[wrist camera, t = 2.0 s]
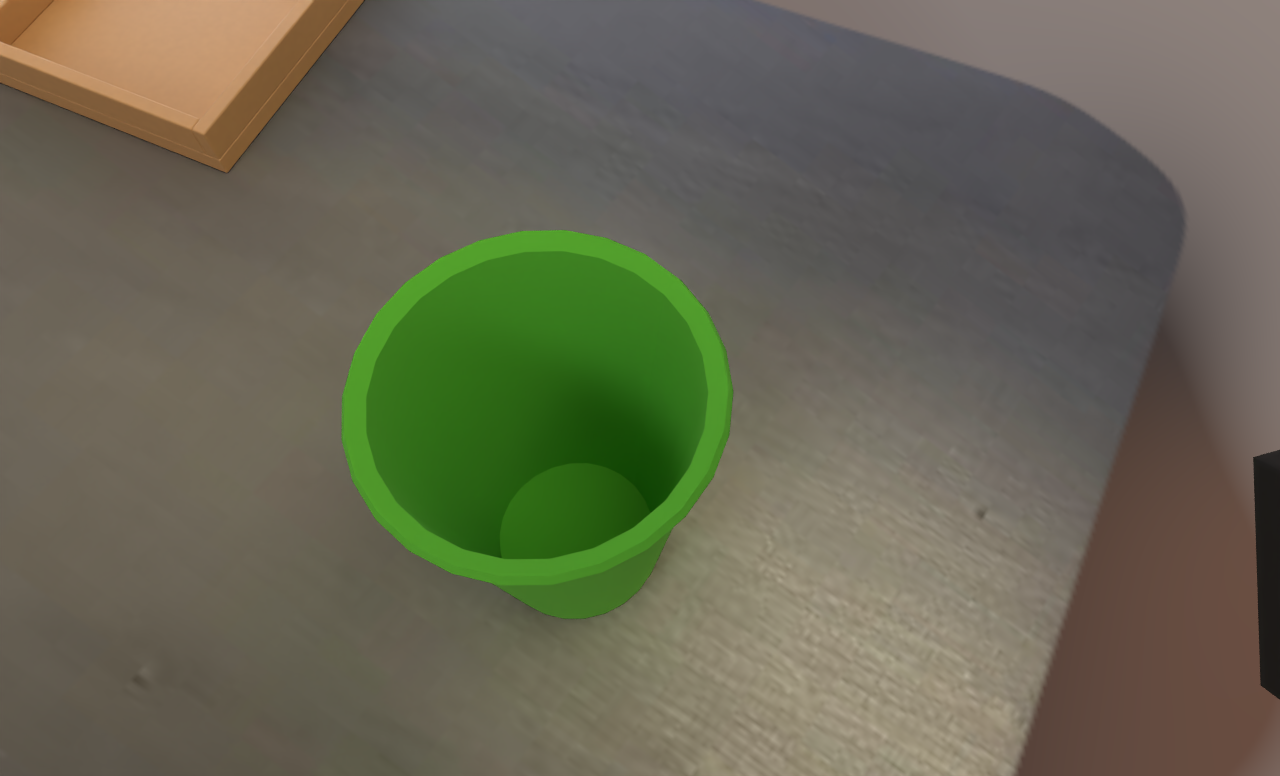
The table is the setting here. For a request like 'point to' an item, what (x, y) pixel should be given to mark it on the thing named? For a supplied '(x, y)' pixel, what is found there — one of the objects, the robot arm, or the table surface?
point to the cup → (539, 416)
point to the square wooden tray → (169, 63)
